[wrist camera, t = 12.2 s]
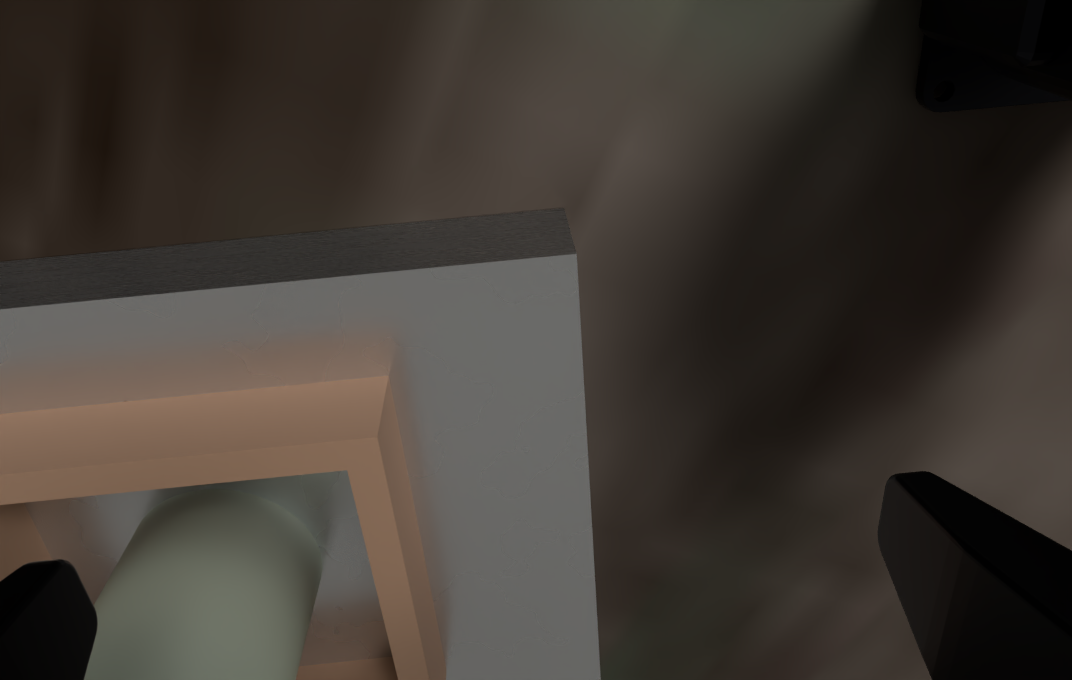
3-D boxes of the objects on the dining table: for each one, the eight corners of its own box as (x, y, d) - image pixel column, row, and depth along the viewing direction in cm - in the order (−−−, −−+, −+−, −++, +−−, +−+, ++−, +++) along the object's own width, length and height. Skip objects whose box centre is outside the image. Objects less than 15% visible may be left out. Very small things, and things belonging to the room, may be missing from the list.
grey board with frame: (564, 207, 21) (589, 303, 16) (591, 634, 29) (613, 784, 24) (-219, 282, 20) (-434, 403, 16) (25, 693, 28) (-67, 857, 23)
